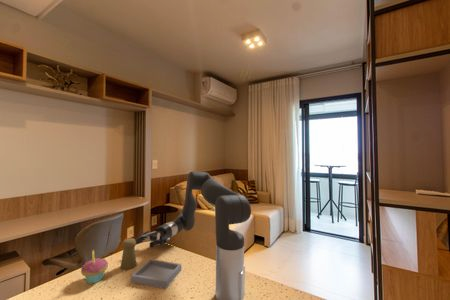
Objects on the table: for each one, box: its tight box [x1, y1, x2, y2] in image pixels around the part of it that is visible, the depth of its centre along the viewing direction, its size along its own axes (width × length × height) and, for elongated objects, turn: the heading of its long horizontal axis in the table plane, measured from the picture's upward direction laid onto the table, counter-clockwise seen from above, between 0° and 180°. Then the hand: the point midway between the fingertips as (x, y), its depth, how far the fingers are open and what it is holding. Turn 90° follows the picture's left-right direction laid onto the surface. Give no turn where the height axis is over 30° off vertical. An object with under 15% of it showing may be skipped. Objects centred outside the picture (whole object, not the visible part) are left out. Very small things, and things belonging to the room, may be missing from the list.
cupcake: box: [80, 250, 109, 284], centre depth 79 cm, size 9×8×12 cm
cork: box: [120, 237, 138, 271], centre depth 88 cm, size 6×6×11 cm
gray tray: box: [130, 258, 182, 290], centre depth 81 cm, size 14×12×2 cm
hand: (142, 243), depth 95 cm, fingers open, 8 cm apart
